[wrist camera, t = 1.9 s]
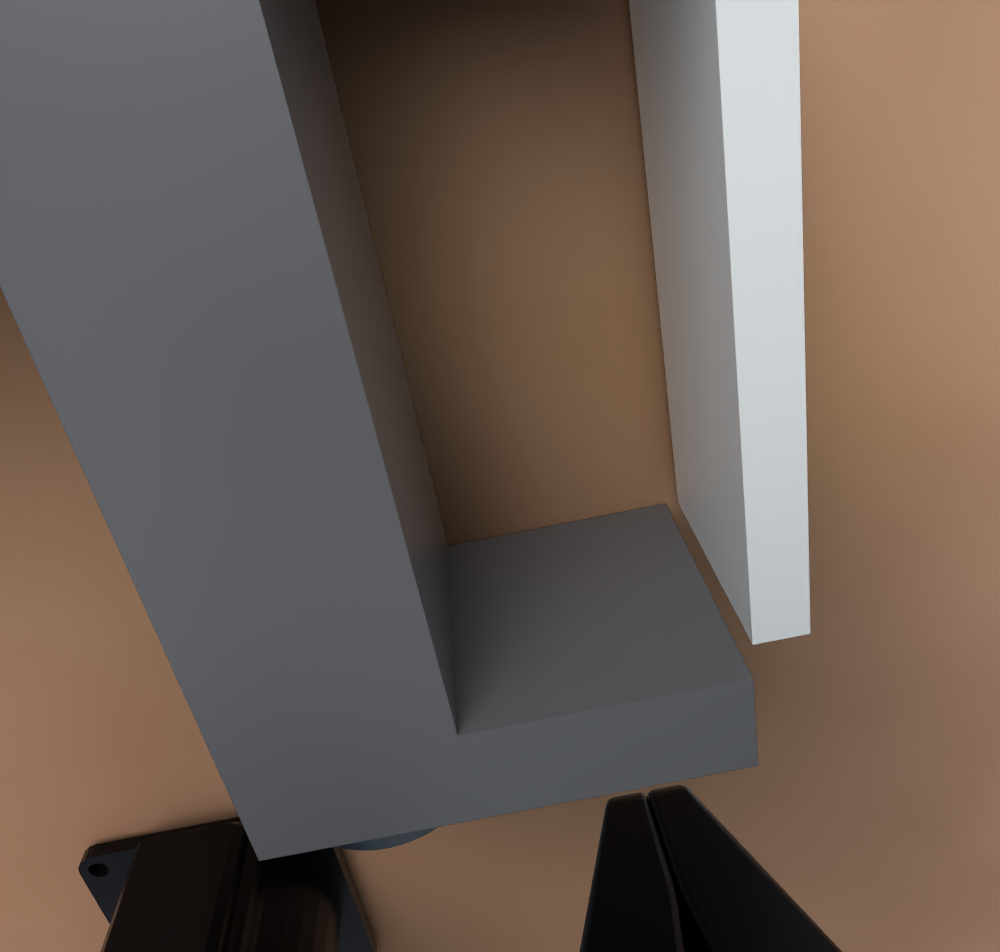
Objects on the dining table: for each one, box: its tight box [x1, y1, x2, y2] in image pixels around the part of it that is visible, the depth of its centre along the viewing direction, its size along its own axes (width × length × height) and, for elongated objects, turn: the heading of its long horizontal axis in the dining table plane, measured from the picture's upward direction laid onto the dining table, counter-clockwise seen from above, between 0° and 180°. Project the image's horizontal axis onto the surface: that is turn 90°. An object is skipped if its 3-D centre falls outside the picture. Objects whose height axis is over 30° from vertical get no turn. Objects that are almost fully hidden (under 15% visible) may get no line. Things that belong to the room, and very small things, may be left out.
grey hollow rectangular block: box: [0, 0, 758, 861], centre depth 15 cm, size 17×9×6 cm, turn 10°
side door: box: [629, 0, 810, 645], centre depth 15 cm, size 11×1×5 cm, turn 10°
